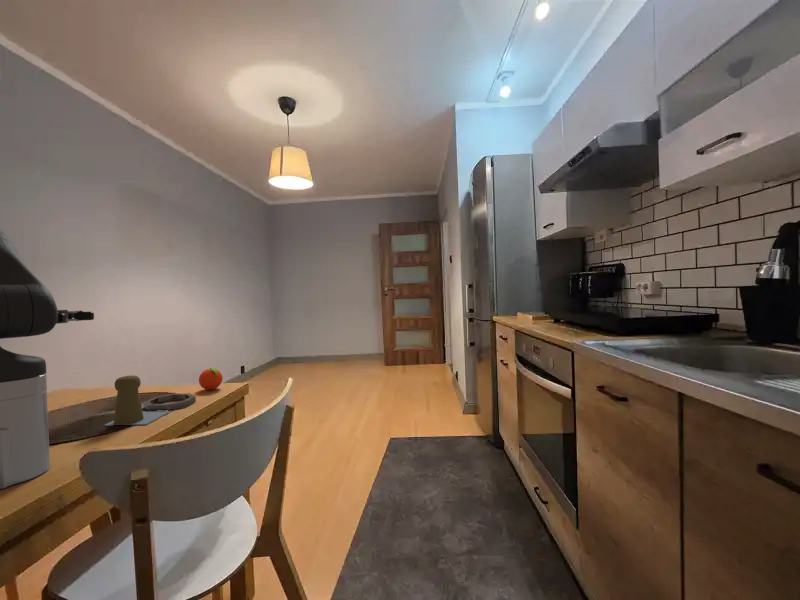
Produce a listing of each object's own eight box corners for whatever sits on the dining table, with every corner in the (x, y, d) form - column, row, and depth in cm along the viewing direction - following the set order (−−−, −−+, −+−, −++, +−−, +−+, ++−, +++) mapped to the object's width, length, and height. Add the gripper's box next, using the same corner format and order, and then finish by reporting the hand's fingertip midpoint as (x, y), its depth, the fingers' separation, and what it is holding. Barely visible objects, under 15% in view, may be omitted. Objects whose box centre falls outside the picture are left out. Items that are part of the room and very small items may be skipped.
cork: (149, 416, 95) (148, 373, 95) (130, 425, 89) (129, 379, 89) (127, 416, 95) (126, 373, 95) (106, 424, 89) (105, 379, 89)
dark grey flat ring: (179, 410, 100) (179, 404, 100) (135, 411, 100) (135, 405, 100) (201, 398, 112) (201, 393, 112) (162, 399, 112) (162, 394, 112)
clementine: (229, 389, 123) (228, 367, 123) (208, 394, 117) (208, 371, 117) (214, 385, 127) (214, 365, 127) (194, 390, 121) (194, 368, 121)
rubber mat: (146, 425, 90) (146, 423, 90) (104, 426, 89) (104, 424, 89) (171, 411, 100) (171, 410, 100) (133, 412, 99) (133, 411, 99)
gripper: (-19, 303, 86) (53, 302, 87) (39, 302, 100) (100, 301, 101) (-18, 336, 86) (54, 335, 87) (40, 330, 101) (101, 329, 101)
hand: (79, 316), depth 94 cm, fingers open, 8 cm apart
